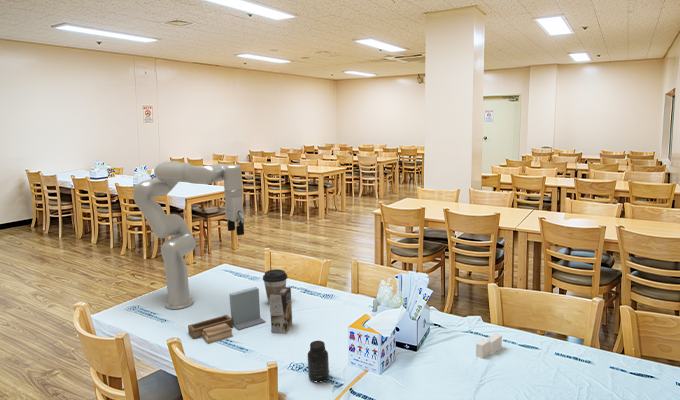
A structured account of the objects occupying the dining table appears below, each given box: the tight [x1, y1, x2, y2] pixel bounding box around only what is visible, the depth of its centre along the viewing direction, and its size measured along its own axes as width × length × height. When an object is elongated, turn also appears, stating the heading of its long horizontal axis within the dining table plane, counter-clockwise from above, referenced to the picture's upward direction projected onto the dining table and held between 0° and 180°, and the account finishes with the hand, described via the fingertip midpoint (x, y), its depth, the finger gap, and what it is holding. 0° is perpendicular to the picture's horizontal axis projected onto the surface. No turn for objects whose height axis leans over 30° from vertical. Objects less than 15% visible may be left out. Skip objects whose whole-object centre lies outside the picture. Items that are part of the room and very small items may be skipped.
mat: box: [233, 316, 267, 331], centre depth 198 cm, size 12×12×1 cm
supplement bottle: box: [307, 340, 330, 383], centre depth 154 cm, size 7×7×12 cm
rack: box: [187, 314, 234, 340], centre depth 190 cm, size 6×16×4 cm, turn 125°
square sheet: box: [228, 286, 261, 325], centre depth 197 cm, size 2×12×13 cm, turn 125°
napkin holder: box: [475, 333, 503, 359], centre depth 168 cm, size 15×11×6 cm
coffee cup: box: [262, 268, 288, 306], centre depth 215 cm, size 11×11×15 cm
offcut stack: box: [201, 323, 234, 345], centre depth 185 cm, size 7×10×4 cm
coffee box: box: [269, 286, 293, 334], centre depth 190 cm, size 9×6×16 cm
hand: (236, 232), depth 203 cm, fingers open, 9 cm apart
